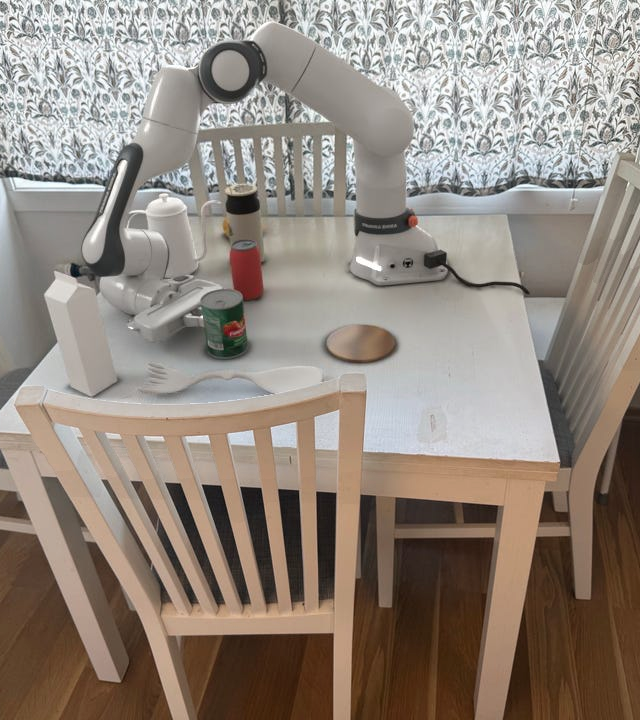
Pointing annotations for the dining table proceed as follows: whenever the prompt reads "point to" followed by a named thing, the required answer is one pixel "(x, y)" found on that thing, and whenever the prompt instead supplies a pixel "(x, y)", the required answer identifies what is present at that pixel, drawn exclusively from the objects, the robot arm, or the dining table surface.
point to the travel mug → (244, 215)
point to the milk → (80, 334)
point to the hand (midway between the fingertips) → (210, 321)
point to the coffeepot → (175, 232)
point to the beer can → (246, 268)
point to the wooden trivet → (360, 343)
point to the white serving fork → (266, 380)
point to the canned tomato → (224, 323)
